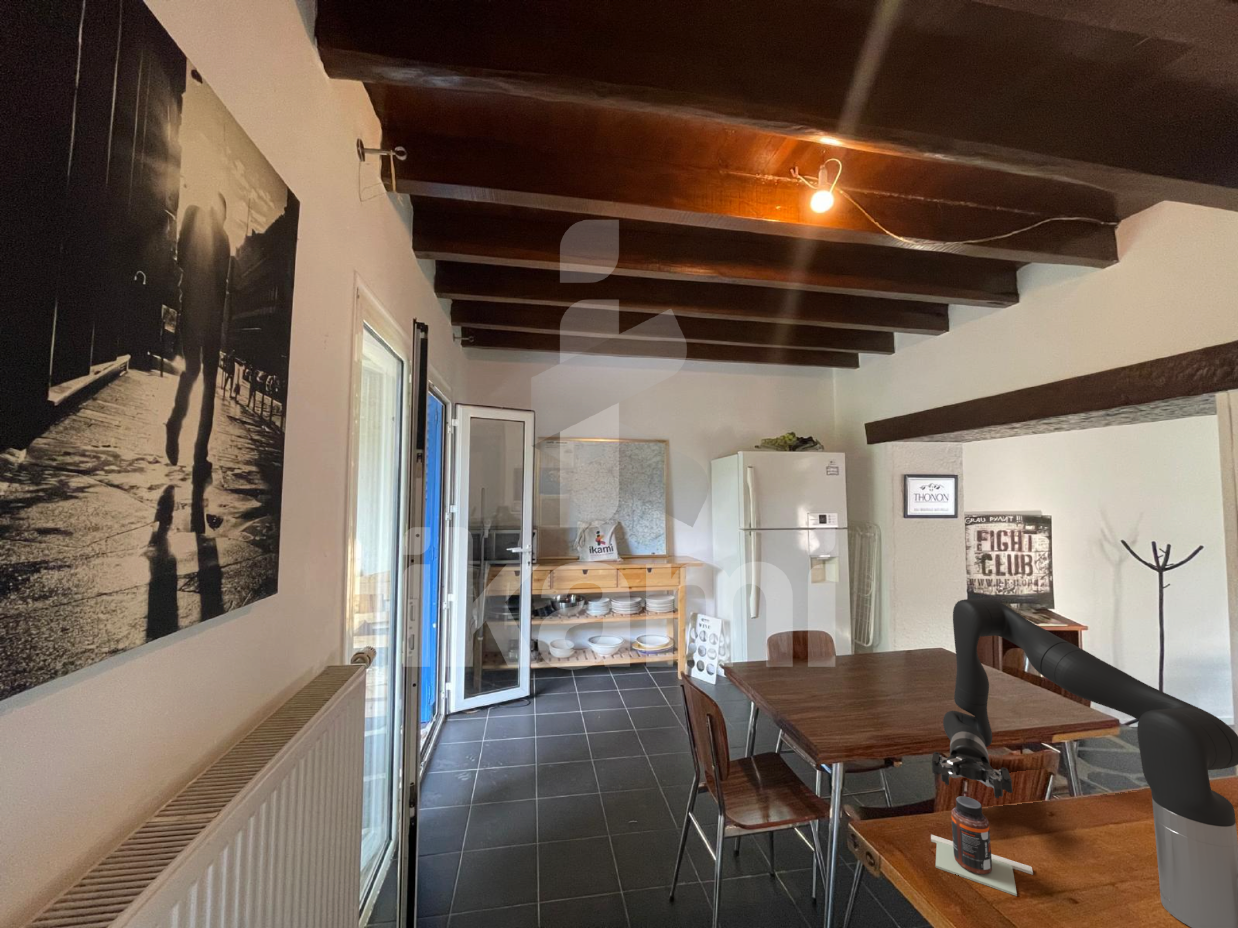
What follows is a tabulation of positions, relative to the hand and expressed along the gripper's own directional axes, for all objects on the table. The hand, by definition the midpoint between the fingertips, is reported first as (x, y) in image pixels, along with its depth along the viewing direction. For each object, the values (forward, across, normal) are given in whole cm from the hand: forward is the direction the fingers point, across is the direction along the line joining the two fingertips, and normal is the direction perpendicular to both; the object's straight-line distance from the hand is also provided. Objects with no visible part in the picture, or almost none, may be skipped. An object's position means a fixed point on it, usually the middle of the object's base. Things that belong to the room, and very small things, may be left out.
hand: (971, 786), depth 102 cm
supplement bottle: (+11, -1, +10) cm, 15 cm away
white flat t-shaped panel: (+10, 0, +10) cm, 14 cm away
